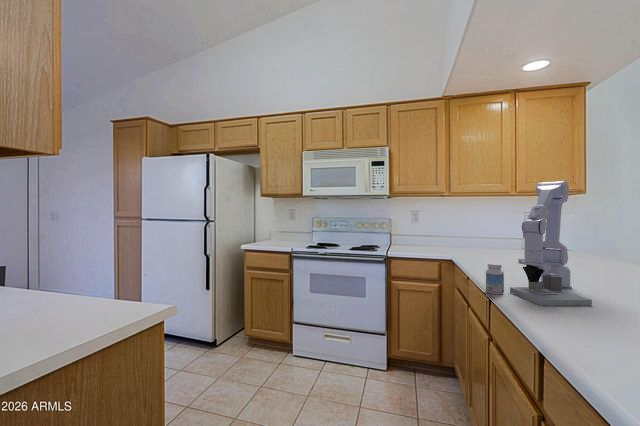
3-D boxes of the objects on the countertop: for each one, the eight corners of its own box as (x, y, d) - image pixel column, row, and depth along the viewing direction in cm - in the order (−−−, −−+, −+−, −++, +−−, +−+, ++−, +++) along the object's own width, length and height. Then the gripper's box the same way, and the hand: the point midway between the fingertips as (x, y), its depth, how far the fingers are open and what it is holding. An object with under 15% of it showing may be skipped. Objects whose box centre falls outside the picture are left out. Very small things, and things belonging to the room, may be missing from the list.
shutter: (543, 289, 110) (543, 281, 110) (557, 294, 103) (557, 286, 103) (526, 289, 110) (526, 281, 110) (539, 294, 103) (539, 286, 103)
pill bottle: (507, 294, 111) (507, 265, 110) (491, 294, 111) (491, 265, 111) (498, 290, 117) (498, 262, 117) (482, 290, 117) (482, 262, 117)
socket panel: (553, 292, 114) (553, 287, 114) (591, 305, 98) (591, 299, 98) (510, 292, 114) (510, 287, 114) (541, 305, 98) (541, 299, 98)
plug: (553, 287, 113) (553, 272, 113) (561, 290, 109) (561, 275, 109) (542, 287, 113) (542, 272, 113) (551, 290, 109) (551, 275, 109)
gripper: (510, 248, 119) (510, 281, 119) (537, 253, 105) (536, 290, 105) (528, 247, 119) (528, 281, 119) (556, 253, 105) (556, 290, 105)
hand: (533, 285), depth 112 cm, fingers closed
